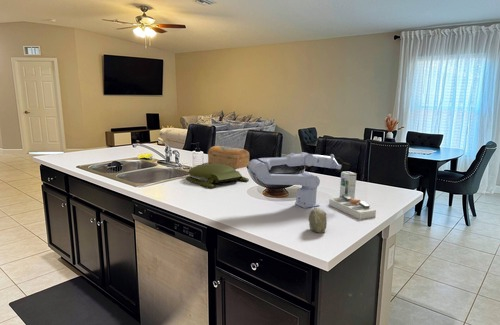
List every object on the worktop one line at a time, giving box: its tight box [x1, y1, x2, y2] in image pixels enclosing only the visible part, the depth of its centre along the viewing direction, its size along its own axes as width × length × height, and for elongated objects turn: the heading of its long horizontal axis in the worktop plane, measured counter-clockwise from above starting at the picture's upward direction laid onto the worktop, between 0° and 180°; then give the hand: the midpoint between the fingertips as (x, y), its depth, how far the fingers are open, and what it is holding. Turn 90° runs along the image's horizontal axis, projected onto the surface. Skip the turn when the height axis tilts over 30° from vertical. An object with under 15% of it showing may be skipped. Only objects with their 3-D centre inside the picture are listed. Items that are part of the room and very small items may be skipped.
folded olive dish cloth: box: [185, 163, 250, 189], centre depth 219 cm, size 35×31×10 cm
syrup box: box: [338, 170, 357, 199], centre depth 180 cm, size 6×6×14 cm
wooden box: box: [207, 145, 250, 170], centre depth 266 cm, size 30×16×14 cm, turn 50°
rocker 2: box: [359, 200, 371, 208], centre depth 158 cm, size 3×4×1 cm, turn 24°
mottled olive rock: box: [308, 207, 328, 233], centre depth 138 cm, size 9×8×10 cm
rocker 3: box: [342, 194, 352, 201], centre depth 169 cm, size 3×4×1 cm, turn 25°
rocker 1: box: [350, 198, 361, 203], centre depth 164 cm, size 3×4×1 cm, turn 25°
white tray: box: [328, 196, 377, 220], centre depth 163 cm, size 9×22×3 cm, turn 24°
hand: (345, 163), depth 174 cm, fingers open, 7 cm apart
